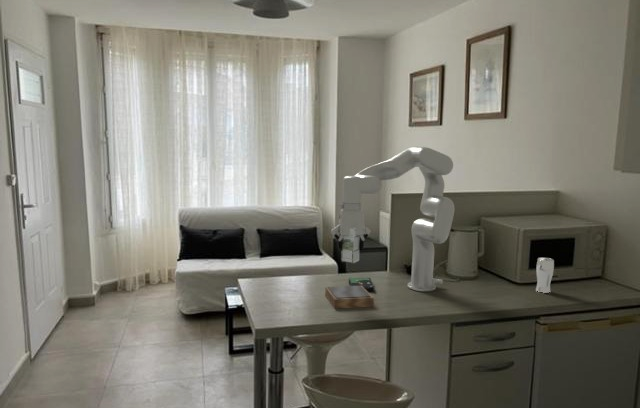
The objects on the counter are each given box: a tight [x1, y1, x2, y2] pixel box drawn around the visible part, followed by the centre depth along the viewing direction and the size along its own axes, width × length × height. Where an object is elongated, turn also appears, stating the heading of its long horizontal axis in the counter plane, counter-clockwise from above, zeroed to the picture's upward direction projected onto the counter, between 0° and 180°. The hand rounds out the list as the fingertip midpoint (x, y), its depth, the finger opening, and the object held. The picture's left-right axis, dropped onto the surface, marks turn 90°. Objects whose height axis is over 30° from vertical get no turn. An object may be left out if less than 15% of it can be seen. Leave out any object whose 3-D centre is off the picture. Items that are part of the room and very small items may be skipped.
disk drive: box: [348, 277, 375, 293], centre depth 213 cm, size 10×3×15 cm
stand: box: [324, 285, 375, 309], centre depth 193 cm, size 16×16×4 cm
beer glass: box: [535, 257, 555, 294], centre depth 212 cm, size 7×7×15 cm
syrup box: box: [340, 227, 360, 264], centre depth 190 cm, size 6×6×14 cm
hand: (350, 249), depth 191 cm, fingers closed on syrup box, 7 cm apart
